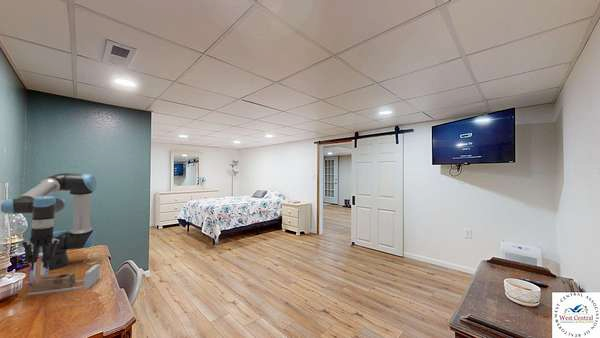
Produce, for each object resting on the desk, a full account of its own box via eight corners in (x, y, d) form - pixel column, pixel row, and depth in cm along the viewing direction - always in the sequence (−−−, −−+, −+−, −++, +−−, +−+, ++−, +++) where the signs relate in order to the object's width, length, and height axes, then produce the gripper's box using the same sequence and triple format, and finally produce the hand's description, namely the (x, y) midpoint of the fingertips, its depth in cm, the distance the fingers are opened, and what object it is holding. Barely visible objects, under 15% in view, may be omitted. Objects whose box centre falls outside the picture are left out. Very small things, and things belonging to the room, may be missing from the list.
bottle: (33, 288, 127) (36, 255, 128) (25, 286, 128) (28, 255, 129) (49, 282, 134) (52, 252, 135) (42, 281, 135) (45, 251, 136)
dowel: (37, 281, 116) (38, 257, 117) (43, 280, 117) (45, 256, 118) (33, 283, 114) (35, 258, 115) (40, 282, 115) (42, 258, 116)
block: (41, 287, 126) (42, 275, 126) (74, 283, 131) (75, 272, 132) (31, 293, 119) (32, 281, 119) (67, 289, 124) (68, 278, 124)
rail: (38, 288, 127) (40, 269, 128) (98, 281, 138) (99, 264, 138) (22, 299, 115) (23, 278, 116) (88, 291, 126) (90, 272, 126)
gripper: (16, 229, 110) (12, 279, 110) (58, 228, 116) (54, 275, 115) (27, 226, 117) (24, 273, 117) (66, 225, 123) (62, 269, 122)
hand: (39, 274), depth 116 cm, fingers closed on dowel, 2 cm apart
